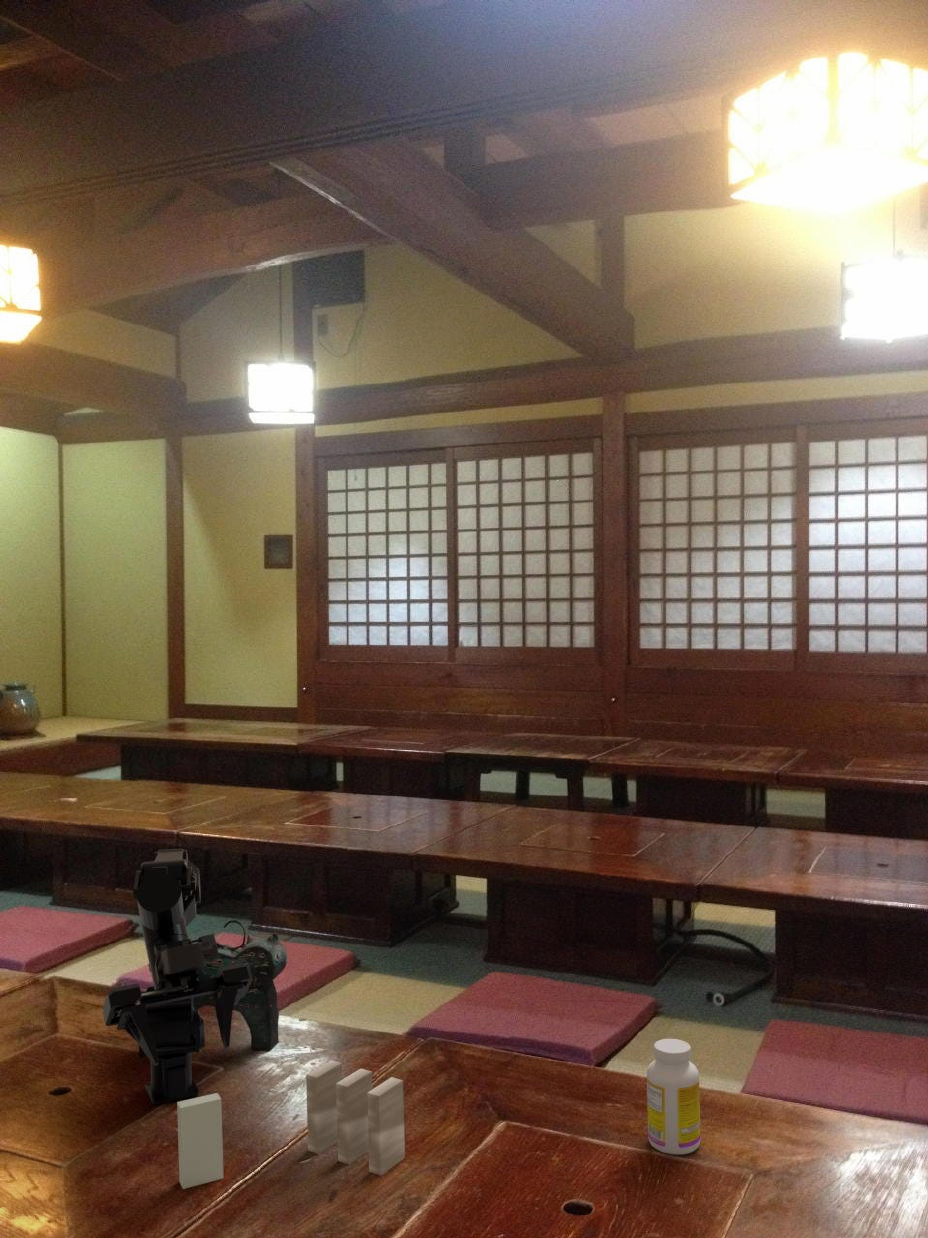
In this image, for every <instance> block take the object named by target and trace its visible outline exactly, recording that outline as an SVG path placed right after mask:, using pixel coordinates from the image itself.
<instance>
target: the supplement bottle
mask: <svg viewBox="0 0 928 1238" xmlns="http://www.w3.org/2000/svg"><path fill="white" fill-rule="evenodd" d="M653 1056H654V1058H655V1060H653V1061H652V1062H650V1063H649V1065H648V1067H647V1070H646V1099H647V1104H646V1106H647V1136H648V1137H647V1138H648V1141H649V1143H650V1145H651V1146H652V1147H653V1148H654V1149H655V1150H657V1151H659V1152H662V1153H664V1154H669V1155H681V1156H682V1155H686V1154H687V1155H688V1154H690V1153H693V1152H694V1151H696V1150H697V1149H698V1148H699V1147H700V1143H701V1106H700V1105H701V1103H700V1102H701V1100H700V1074H699V1073H700V1072H699V1070H698V1068H697V1066H696V1065H695V1064H694V1063H692V1061H690V1060H691V1057H692V1049H691V1045H690V1044H689V1043H688V1042H687V1041H684V1040H682V1039H676V1038H664V1039H660V1040H657V1041H656V1042H654V1043H653Z"/></svg>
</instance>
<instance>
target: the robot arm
mask: <svg viewBox="0 0 928 1238" xmlns="http://www.w3.org/2000/svg"><path fill="white" fill-rule="evenodd" d="M153 860H154V861H143V862H142V863H140V870H136V871H135V876H134V877H135V878H134V882H133V883H134V884H133V891H132V893H133V899H134V901H137V907H138V912H139V913H138V914H139V918H140V920H139V922H140V925H141V930H142V931H141V932H142V935H143V936H142V937H143V940H144V945H145V950H146V955H147V961H148V964H147V966H148V970H149V972H150V974H151V979H152V983H153V986H148V987H147V989H146V990H145V991H143V992H142V990H141V986H140V985H139V984H138V983H133V984H128V985H123V986H118V987H113V988H110V990H109V991H108V992H107V994H106V997H105V1000H104V1004H103V1007H102V1014H103V1020H104V1024H105V1025H104V1026H106V1027H111V1026H112V1027H113V1026H116V1029H117V1031H123V1030H124V1031H125V1032H126V1033H127V1034H128V1035H129V1036H130V1037H131V1038H132V1039H133V1040H134V1042H136V1043H137V1045H138V1053H139V1055H138V1056H139V1059H141V1060H142V1059H144V1058H148V1060H149V1061H150V1082H147V1083H145V1084H144V1088H145V1090H146V1093H147V1094H148V1097H149V1098H150V1100H151V1103H152V1104H153V1105H158V1104H163V1103H167V1102H172V1101H176V1100H177V1101H178V1100H181V1099H185V1098H191V1097H194V1096H195V1097H196V1096H198V1095H199V1094H200V1091H199V1088H198V1086H197V1085H196V1083H195V1082H194V1080H193V1078H192V1073H193V1072H192V1054H193V1053H198V1054H199V1053H200V1051H201V1050H202V1049H203V1048H205V1047H206V1041H205V1040H206V1037H205V1036H206V1035H205V1019H204V1018H202V1017H201V1013H200V1009H198V1010H194V997H199V996H204V995H209V994H213V993H214V997H215V999H216V1000H218V1001H217V1003H216V1006H215V1007H214V1008H215V1014H216V1020H217V1024H218V1028H219V1035H220V1038H221V1039H220V1040H221V1043H222V1045H223V1048H224V1050H228V1049H229V1048H230V1044H231V1034H232V1033H231V1031H232V1019H233V1012H234V1010H233V1007H234V1006H235V1005H237V1003H238V1001H239V999H241V998H243V997H245V995H246V993H247V991H248V989H249V987H250V985H251V982H252V980H253V979H252V975H251V971H250V968H249V967H247V966H246V965H245V964H244V963H242V964H236V965H231V966H226V967H221V968H219V970H218V972H217V975H216V977H215V978H212V979H207V980H202V981H199V980H198V976H202V973H203V969H202V967H203V968H205V967H206V962H205V961H208V960H214V959H216V958H217V957H218V948H217V943H218V942H217V941H216V937H215V933H212V934H206V935H201V936H199V937H198V938H197V939H198V942H195V943H192V941H191V940H192V938H190V937H189V934H188V930H187V927H188V926H189V925H190V924H191V923H192V921H193V920H194V919H195V918H196V917H197V904H201V878H200V868H198V867H197V865H195V864H194V862H192V861H191V860H190V859H189V858H188V850H187V849H183V848H171V849H159V850H158V851H155V852H154V859H153ZM216 942H217V943H216Z"/></svg>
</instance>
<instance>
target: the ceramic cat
mask: <svg viewBox="0 0 928 1238" xmlns="http://www.w3.org/2000/svg"><path fill="white" fill-rule="evenodd" d="M232 923H233V924H234V923H236V924H238V925H240V927H241V928H242V930H243V939H242V943H241V944H240V945H238V946H232V945H228V944H222V943H219V942H218V941H216V943H217V948H218V957H217V958H216V959H214V960H208V961H205V962H206V967H205V968H203V967H202V969H203V973H202V976H198V980H199V981H202V980H207V979H212V978H215V977H216V975H217V972H218V970H219V968H221V967H226V966H231V965H236V964H242V963H244V964H245V965H246V966H247V967H249V968H250V971H251V975H252V979H253V980H252V982H251V985H250V987H249V989H248V991H247V993H246V995H245V997H243V998H241V999H239V1001H238V1003H237V1005H235V1006H234V1007H233V1011H237V1012H239V1014H241V1016H242V1017H243V1019H244V1021H245V1023H246V1025H247V1027H248V1029H249V1032H250V1047H251V1050H252V1051H259V1050H263V1051H269V1052H270V1051H271V1050H273V1049H274V1048H275V1047H276V1046H277V1044H278V1043H279V1019H280V1011H279V1009H278V992H277V988H276V986H275V982H274V980H275V979H276V978H277V977H278V976H279V975H280V974H281V973H282V972H283V971H284V970H285V968H286V967H287V963H288V953H287V949H286V947H285V946H284V945H283V944H282V943H281V941H280V938H279V934H278V933H277V932H276V931H273V932H272V934H271V935H269V937H268V938H258V939H255V938H254V937H253V936H252V935H251V934H249V933H247V936H246V929H245V925H244V924H243V923H242V922H241V921H239V920H238V919H231V920H228V921H227V922H226V923H225V924H224V926H223V928H224V929H226V927H228V925H229V924H232ZM191 941H192V943H193V944H195V943H198V938H196V939H191ZM245 942H246V943H245ZM217 1001H218V1000H216V999H215V997H214V993H213V994H209V995H204V996H199V997H194V1010H200V1009H201V1008H204V1007H207V1006H209V1007H213V1008H215V1006H216V1003H217Z"/></svg>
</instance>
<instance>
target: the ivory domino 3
mask: <svg viewBox="0 0 928 1238" xmlns="http://www.w3.org/2000/svg"><path fill="white" fill-rule="evenodd" d="M367 1094H368V1137H369V1151H368V1168H369V1169H368V1170H369V1171H368V1172H369V1173H371V1174H374V1175H377V1176H380V1177H381V1176H383V1175H385V1174H386V1173H387V1172H388V1171H389V1170H391V1169H392V1168H393V1167H395V1166H396V1165H397V1164H399V1163H400V1162H402V1161H403V1160H404V1159H405V1158H406V1156H405V1155H406V1151H405V1111H404V1110H405V1107H404V1102H405V1101H404V1079H399V1078H396V1077H393V1076H391V1077H389V1078H387V1080H385V1081H383V1082H381V1083H380V1084H379V1085H377V1086H376V1087H374V1088H372V1090H371V1091H369V1092H368V1093H367Z"/></svg>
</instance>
